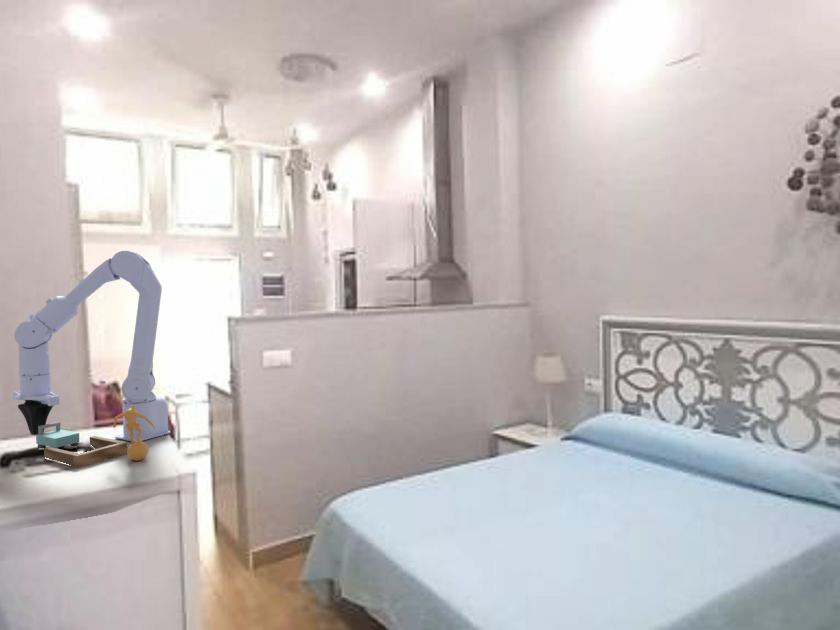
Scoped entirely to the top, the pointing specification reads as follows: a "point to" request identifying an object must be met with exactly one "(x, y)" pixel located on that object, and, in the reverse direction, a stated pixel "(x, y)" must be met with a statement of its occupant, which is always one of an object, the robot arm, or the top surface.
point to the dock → (89, 452)
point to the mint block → (56, 437)
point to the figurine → (137, 448)
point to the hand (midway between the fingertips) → (37, 433)
